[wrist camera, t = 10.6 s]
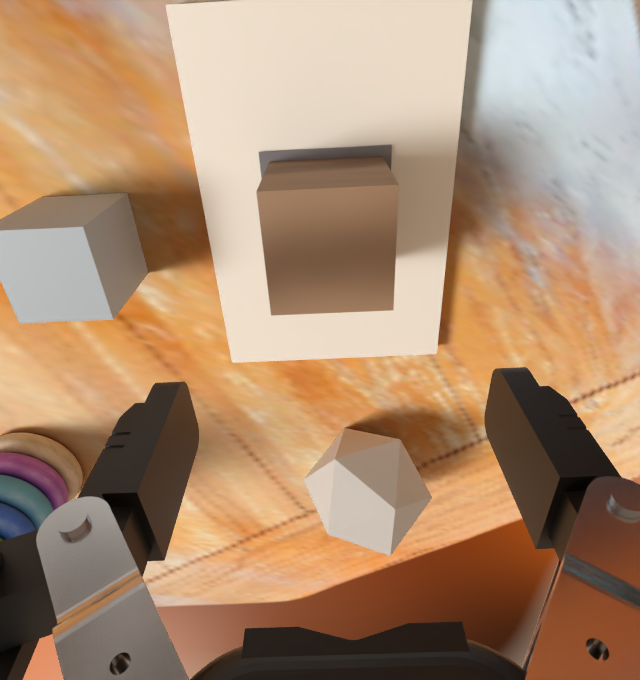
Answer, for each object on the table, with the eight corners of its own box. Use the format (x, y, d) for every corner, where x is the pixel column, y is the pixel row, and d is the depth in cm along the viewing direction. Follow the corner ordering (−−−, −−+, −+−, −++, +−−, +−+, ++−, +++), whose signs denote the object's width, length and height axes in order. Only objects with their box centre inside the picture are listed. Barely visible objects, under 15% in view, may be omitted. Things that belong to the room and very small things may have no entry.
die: (288, 455, 39) (325, 577, 35) (303, 424, 32) (351, 575, 28) (376, 430, 41) (418, 541, 38) (408, 396, 34) (466, 530, 30)
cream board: (171, 6, 22) (164, 4, 21) (468, -13, 22) (475, -16, 21) (234, 354, 33) (231, 364, 32) (433, 345, 32) (437, 355, 31)
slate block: (42, 196, 27) (-23, 231, 22) (127, 192, 27) (82, 226, 22) (71, 275, 30) (19, 323, 24) (148, 272, 29) (113, 319, 24)
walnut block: (269, 161, 25) (256, 191, 20) (382, 156, 24) (398, 184, 19) (279, 266, 28) (271, 315, 23) (379, 262, 28) (393, 310, 23)
